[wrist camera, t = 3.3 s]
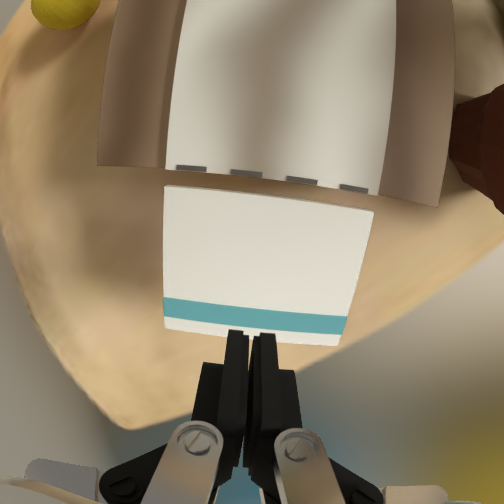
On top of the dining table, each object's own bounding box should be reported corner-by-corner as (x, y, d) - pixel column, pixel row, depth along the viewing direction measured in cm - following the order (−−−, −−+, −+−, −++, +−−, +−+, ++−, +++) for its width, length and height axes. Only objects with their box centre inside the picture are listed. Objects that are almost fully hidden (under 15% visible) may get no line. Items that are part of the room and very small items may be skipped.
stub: (370, 209, 14) (374, 212, 14) (335, 340, 17) (337, 347, 17) (167, 184, 14) (163, 186, 13) (167, 323, 17) (164, 329, 16)
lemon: (108, -20, 16) (67, -53, 9) (119, 17, 18) (73, -13, 11) (62, 9, 17) (13, -12, 10) (70, 48, 19) (16, 32, 12)
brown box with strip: (391, 10, 17) (451, -37, 7) (375, 178, 23) (442, 210, 13) (182, -18, 17) (143, -83, 7) (157, 152, 23) (91, 167, 13)
